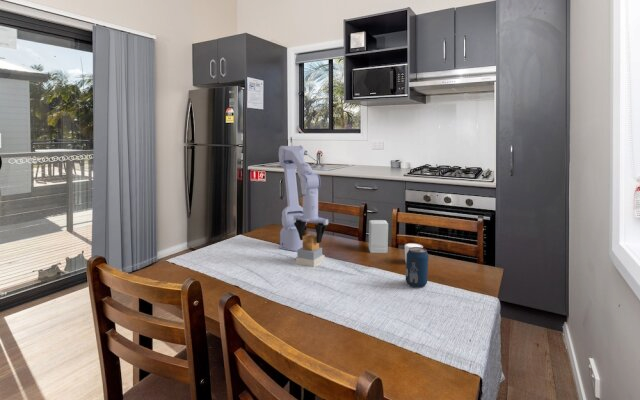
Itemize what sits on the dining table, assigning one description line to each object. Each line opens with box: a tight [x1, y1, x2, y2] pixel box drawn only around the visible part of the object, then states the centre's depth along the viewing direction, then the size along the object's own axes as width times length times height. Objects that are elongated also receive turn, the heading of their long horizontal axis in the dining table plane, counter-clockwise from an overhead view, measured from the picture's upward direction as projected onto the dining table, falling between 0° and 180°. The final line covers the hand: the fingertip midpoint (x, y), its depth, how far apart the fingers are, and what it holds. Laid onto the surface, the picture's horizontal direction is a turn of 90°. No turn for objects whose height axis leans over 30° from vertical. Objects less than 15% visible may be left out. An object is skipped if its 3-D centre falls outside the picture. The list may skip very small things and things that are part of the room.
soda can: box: [405, 247, 429, 289], centre depth 128 cm, size 7×7×12 cm
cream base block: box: [295, 254, 326, 268], centre depth 151 cm, size 8×8×3 cm
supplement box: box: [367, 219, 389, 254], centre depth 166 cm, size 7×7×13 cm
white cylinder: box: [404, 242, 424, 264], centre depth 151 cm, size 7×7×7 cm
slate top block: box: [296, 246, 323, 260], centre depth 151 cm, size 7×7×3 cm
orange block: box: [303, 233, 320, 251], centre depth 150 cm, size 4×4×5 cm
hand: (310, 240), depth 150 cm, fingers open, 7 cm apart
